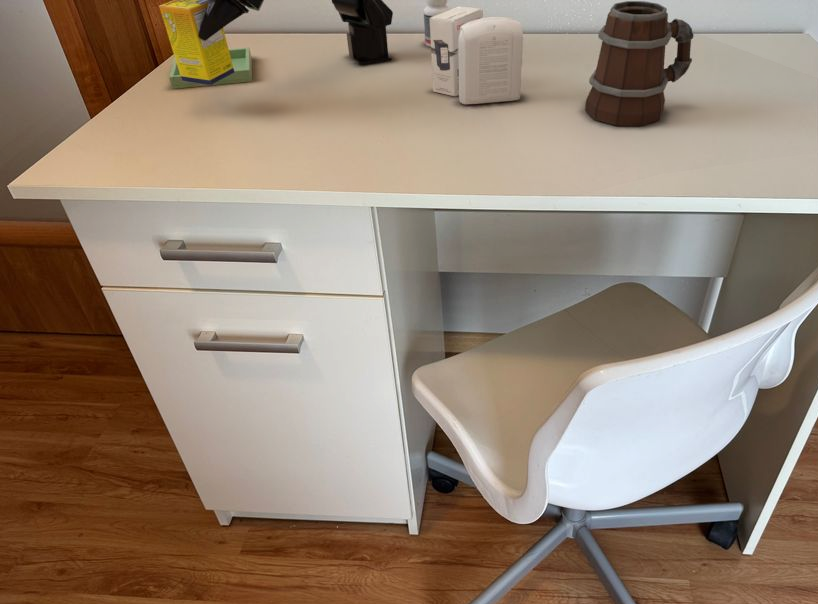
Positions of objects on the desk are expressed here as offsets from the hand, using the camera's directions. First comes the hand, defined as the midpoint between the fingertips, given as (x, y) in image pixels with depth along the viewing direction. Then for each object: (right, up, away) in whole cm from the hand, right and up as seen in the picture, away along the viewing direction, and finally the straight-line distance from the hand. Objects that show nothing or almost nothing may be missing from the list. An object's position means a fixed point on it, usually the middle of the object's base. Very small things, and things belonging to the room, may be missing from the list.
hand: (188, 34), depth 100 cm
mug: (+68, -10, +5) cm, 69 cm away
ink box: (+40, -2, +14) cm, 43 cm away
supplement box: (+1, -5, +5) cm, 7 cm away
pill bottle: (+36, +13, +33) cm, 51 cm away
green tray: (-4, +3, +22) cm, 23 cm away
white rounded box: (+46, -7, +9) cm, 47 cm away
